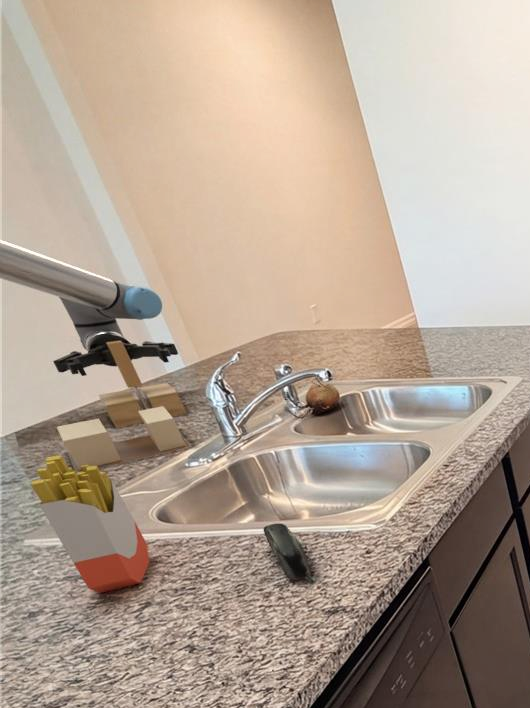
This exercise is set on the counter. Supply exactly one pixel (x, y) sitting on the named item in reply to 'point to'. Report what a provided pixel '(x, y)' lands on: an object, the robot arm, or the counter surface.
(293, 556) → the dark green zucchini
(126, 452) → the board
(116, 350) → the wooden handled screwdriver
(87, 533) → the french fries container
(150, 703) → the counter surface
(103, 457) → the beige block
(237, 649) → the counter surface
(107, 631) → the counter surface
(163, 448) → the beige wooden block
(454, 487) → the counter surface
